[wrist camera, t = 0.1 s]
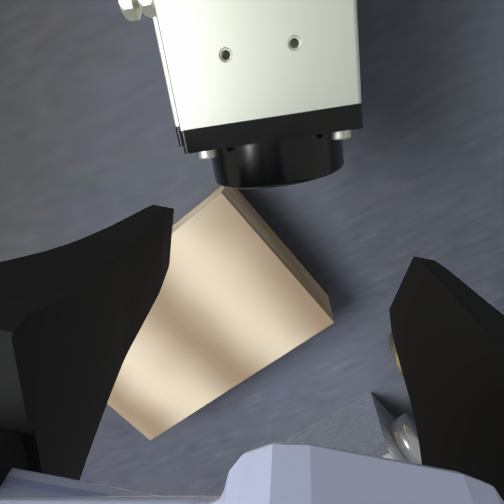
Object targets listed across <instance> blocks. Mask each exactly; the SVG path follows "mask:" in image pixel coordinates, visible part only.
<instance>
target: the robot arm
mask: <svg viewBox="0 0 504 504" xmlns="http://www.w3.org/2000/svg"><path fill="white" fill-rule="evenodd" d="M173 212H174V209H172V208H167V207H162V206H157V205H152V206H149V207H147V208H145V209H143V210H141V211H139V212H137V213H136V214H134V215H132V216H130V217H128V218H126V219H124V220H122V221H120V222H118V223H116V224H114V225H112V226H110V227H108V228H106V229H103V230H101V231H99V232H96V233H94V234H92V235H90V236H87V237H85V238H83V239H80V240H78V241H75V242H72V243H70V244H67V245H64V246H61V247H57V248H54V249H51V250H48V251H45V252H41V253H37V254H33V255H28V256H24V257H20V258H16V259H12V260H8V261H3V262H0V504H504V315H503V314H502V313H500V312H499V311H498V310H496V309H495V308H494V307H493V306H491V305H490V304H489V303H488V302H486V301H485V300H484V299H483V298H481V297H480V296H479V295H478V294H477V293H475V292H474V291H473V290H472V289H471V288H469V287H468V286H467V285H466V284H465V283H463V282H462V281H461V280H460V279H459V278H457V277H456V276H455V275H454V274H452V273H451V272H450V271H449V270H447V269H446V268H445V267H443V266H442V265H440V264H439V263H437V262H436V261H434V260H429V259H424V258H419V257H413V259H412V262H411V264H410V266H409V268H408V270H407V272H406V275H405V277H404V279H403V281H402V283H401V285H400V288H399V290H398V292H397V294H396V296H395V298H394V301H393V303H392V305H391V307H390V319H391V328H392V335H393V340H394V344H395V348H396V352H397V355H398V359H399V362H400V366H401V369H402V373H403V376H404V380H405V383H406V387H407V390H408V394H409V397H410V401H411V405H412V409H413V413H414V417H415V423H416V429H417V435H418V441H419V447H420V454H421V461H422V465H421V464H415V463H410V462H405V461H400V460H394V459H389V458H384V457H379V456H373V455H368V454H363V453H358V452H352V451H347V450H342V449H337V448H332V447H326V446H321V445H316V444H311V443H292V442H274V443H271V444H268V445H265V446H262V447H259V448H256V449H253V450H250V451H248V452H246V453H244V454H243V455H242V456H241V457H240V458H239V460H238V461H237V462H236V463H235V465H234V466H233V467H232V468H231V469H230V471H229V473H228V477H227V481H226V485H225V489H224V492H223V494H222V495H221V496H159V495H154V494H149V493H144V492H138V491H133V490H128V489H122V488H117V487H112V486H106V485H101V484H96V483H90V482H85V481H80V477H81V474H82V471H83V468H84V465H85V462H86V459H87V457H88V454H89V451H90V448H91V445H92V443H93V440H94V437H95V434H96V432H97V429H98V426H99V423H100V421H101V418H102V415H103V413H104V410H105V407H106V405H107V402H108V400H109V397H110V394H111V392H112V389H113V387H114V384H115V382H116V379H117V377H118V374H119V372H120V369H121V367H122V364H123V362H124V360H125V357H126V355H127V353H128V351H129V349H130V347H131V345H132V343H133V342H134V340H135V338H136V336H137V334H138V332H139V330H140V329H141V327H142V325H143V323H144V321H145V319H146V317H147V316H148V314H149V312H150V310H151V308H152V306H153V304H154V302H155V300H156V299H157V297H158V295H159V293H160V290H161V288H162V285H163V282H164V279H165V277H166V274H167V271H168V268H169V263H170V250H171V237H172V225H173Z"/></svg>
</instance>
